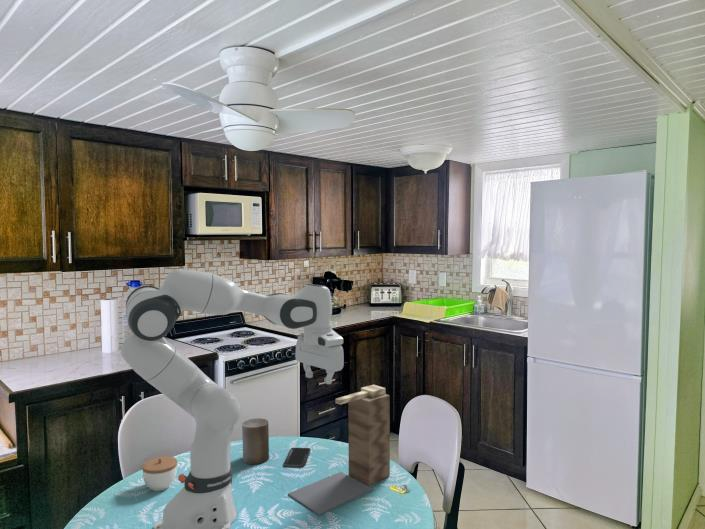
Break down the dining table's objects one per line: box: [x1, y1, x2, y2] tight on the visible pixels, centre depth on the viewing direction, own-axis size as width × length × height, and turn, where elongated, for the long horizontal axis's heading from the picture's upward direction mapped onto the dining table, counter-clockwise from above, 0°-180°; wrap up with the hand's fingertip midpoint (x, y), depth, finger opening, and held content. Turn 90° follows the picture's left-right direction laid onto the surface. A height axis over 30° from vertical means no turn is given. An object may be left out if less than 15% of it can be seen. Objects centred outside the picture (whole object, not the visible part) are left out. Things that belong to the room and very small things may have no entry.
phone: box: [283, 447, 311, 468], centre depth 179 cm, size 8×1×15 cm
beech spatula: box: [334, 384, 386, 405], centre depth 161 cm, size 19×6×2 cm, turn 132°
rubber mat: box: [287, 471, 374, 516], centre depth 153 cm, size 22×16×1 cm
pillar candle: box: [241, 417, 270, 465], centre depth 178 cm, size 10×10×15 cm
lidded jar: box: [141, 455, 178, 492], centre depth 158 cm, size 11×11×9 cm
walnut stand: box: [347, 390, 391, 487], centre depth 164 cm, size 10×10×28 cm
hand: (318, 380), depth 149 cm, fingers open, 8 cm apart
